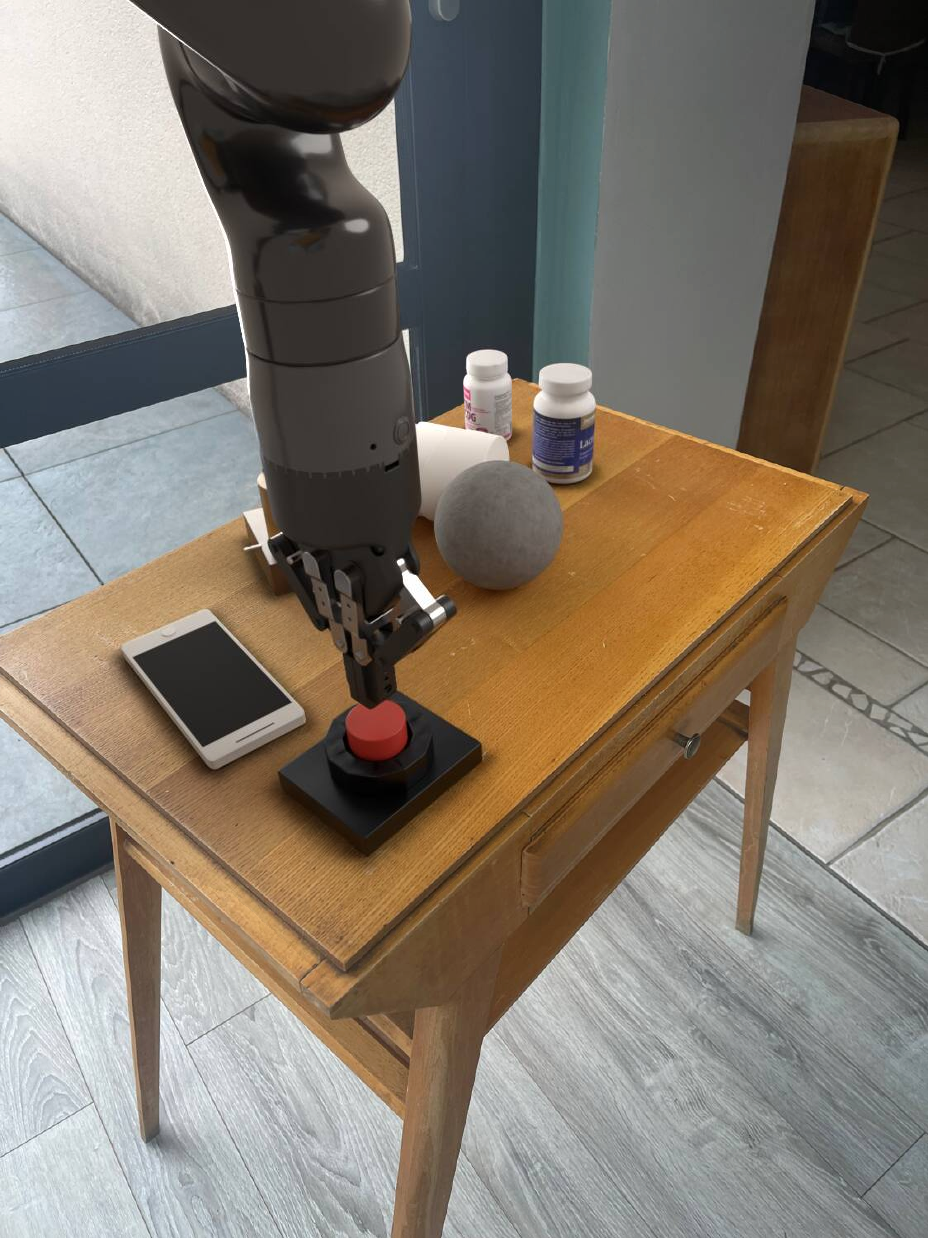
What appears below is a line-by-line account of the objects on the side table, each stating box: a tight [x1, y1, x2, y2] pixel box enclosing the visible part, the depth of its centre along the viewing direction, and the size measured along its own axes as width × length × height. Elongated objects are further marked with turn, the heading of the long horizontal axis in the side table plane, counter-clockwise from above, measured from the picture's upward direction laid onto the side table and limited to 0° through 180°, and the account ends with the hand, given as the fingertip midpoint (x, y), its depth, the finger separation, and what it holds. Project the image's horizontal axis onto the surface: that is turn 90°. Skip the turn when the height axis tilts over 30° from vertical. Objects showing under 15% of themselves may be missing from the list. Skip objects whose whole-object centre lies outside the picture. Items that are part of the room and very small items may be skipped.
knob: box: [256, 468, 281, 539], centre depth 74 cm, size 4×4×6 cm
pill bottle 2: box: [531, 362, 597, 485], centre depth 86 cm, size 6×6×10 cm
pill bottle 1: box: [463, 349, 513, 442], centre depth 93 cm, size 5×5×8 cm
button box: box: [277, 689, 483, 858], centre depth 58 cm, size 10×8×4 cm
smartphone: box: [120, 608, 307, 771], centre depth 66 cm, size 7×16×1 cm, turn 38°
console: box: [242, 507, 304, 596], centre depth 78 cm, size 11×10×3 cm
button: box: [346, 700, 408, 761], centre depth 57 cm, size 4×4×2 cm
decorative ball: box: [433, 460, 564, 591], centre depth 73 cm, size 10×10×10 cm
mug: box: [415, 421, 510, 522], centre depth 82 cm, size 12×9×8 cm
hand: (373, 697), depth 55 cm, fingers closed
